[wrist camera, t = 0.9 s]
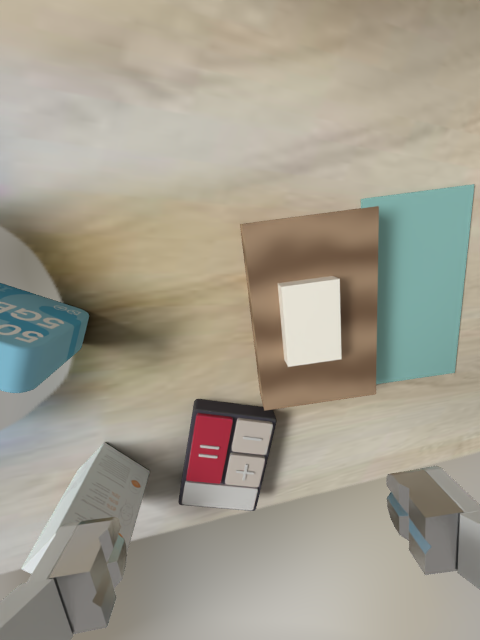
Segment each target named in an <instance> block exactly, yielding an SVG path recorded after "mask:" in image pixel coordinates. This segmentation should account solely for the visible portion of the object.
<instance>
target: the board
mask: <svg viewBox="0 0 480 640" xmlns="http://www.w3.org/2000/svg"><path fill="white" fill-rule="evenodd" d="M240 228H241V236H242V245H243V253H244V262H245V270H246V278H247V287H248V295H249V303H250V312H251V320H252V329H253V337H254V345H255V354H256V362H257V371H258V379H259V387H260V395H261V399H262V403H263V407H264V411H265V410H272V409H279V408H286V407H292V406H299V405H306V404H313V403H320V402H326V401H333V400H340V399H347V398H354V397H361V396H367V395H374V394H376V359H377V295H378V231H379V206H375V207H368V208H360V209H352V210H345V211H337V212H329V213H322V214H314V215H307V216H299V217H291V218H284V219H276V220H269V221H261V222H253V223H246V224H240ZM328 276H334V277H336V278H339V279H340V315H341V357H342V359H340V360H333V361H326V362H319V363H312V364H305V365H298V366H291V367H288V366H287V364H286V362H285V360H284V350H283V339H282V327H281V316H280V305H279V293H278V283H284V282H291V281H299V280H306V279H313V278H321V277H328Z"/></svg>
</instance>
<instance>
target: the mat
mask: <svg viewBox="0 0 480 640" xmlns="http://www.w3.org/2000/svg"><path fill="white" fill-rule="evenodd" d="M473 193H474V184H473V185H465V186H457V187H450V188H442V189H435V190H427V191H419V192H412V193H404V194H396V195H389V196H381V197H373V198H366V199H361V208H368V207H375V206H379V231H378V295H377V359H376V384H381V383H388V382H394V381H401V380H408V379H415V378H422V377H429V376H435V375H442V374H449V373H455V365H456V355H457V346H458V336H459V327H460V317H461V308H462V298H463V288H464V279H465V269H466V260H467V250H468V241H469V231H470V222H471V212H472V202H473Z"/></svg>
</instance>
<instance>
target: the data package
mask: <svg viewBox="0 0 480 640" xmlns="http://www.w3.org/2000/svg"><path fill="white" fill-rule="evenodd" d="M88 319H89V314H88V313H87V312H86V311H84V310H82V309H79V308H76V307H73V306H70V305H67V304H64V303H61V302H58V301H54V300H52V299H48V298H45V297H42V296H39V295H36V294H33V293H30V292H27V291H23V290H21V289H17V288H14V287H11V286H8V285H5V284H2V283H0V390H1V391H5V392H10V393H22V392H27V391H30V390H33V389H35V388H36V387H37V386H38V385H40V383H42V382H43V381H44V380H45V379H46V378H48V377H49V376H50V375H51V374H52V373H53V372H55V370H57V369H58V368H59V367H60V366H62V365H63V364H64V363H65V362H66V361H67V360H68V359H70V358H71V357H72V356H73V355H74V354H75V353H77V352H78V351H79V350H80V349H81V347H82V343H83V339H84V335H85V331H86V327H87V323H88Z"/></svg>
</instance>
